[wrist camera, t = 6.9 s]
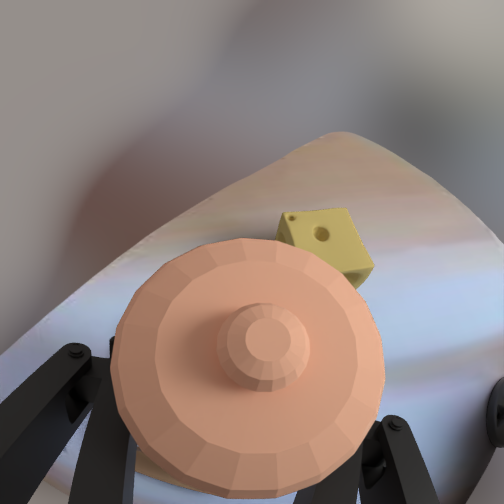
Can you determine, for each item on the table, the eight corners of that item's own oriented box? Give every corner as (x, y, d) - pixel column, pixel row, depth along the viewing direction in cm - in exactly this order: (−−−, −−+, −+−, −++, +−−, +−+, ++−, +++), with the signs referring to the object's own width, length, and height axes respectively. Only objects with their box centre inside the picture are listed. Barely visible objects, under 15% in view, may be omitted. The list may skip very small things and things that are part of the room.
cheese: (285, 311, 40) (301, 280, 32) (269, 248, 46) (279, 207, 37) (349, 299, 42) (377, 267, 34) (328, 241, 48) (348, 202, 39)
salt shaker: (176, 429, 19) (21, 463, 2) (195, 347, 23) (143, 155, 6) (267, 448, 19) (424, 528, 2) (282, 364, 22) (426, 217, 6)
